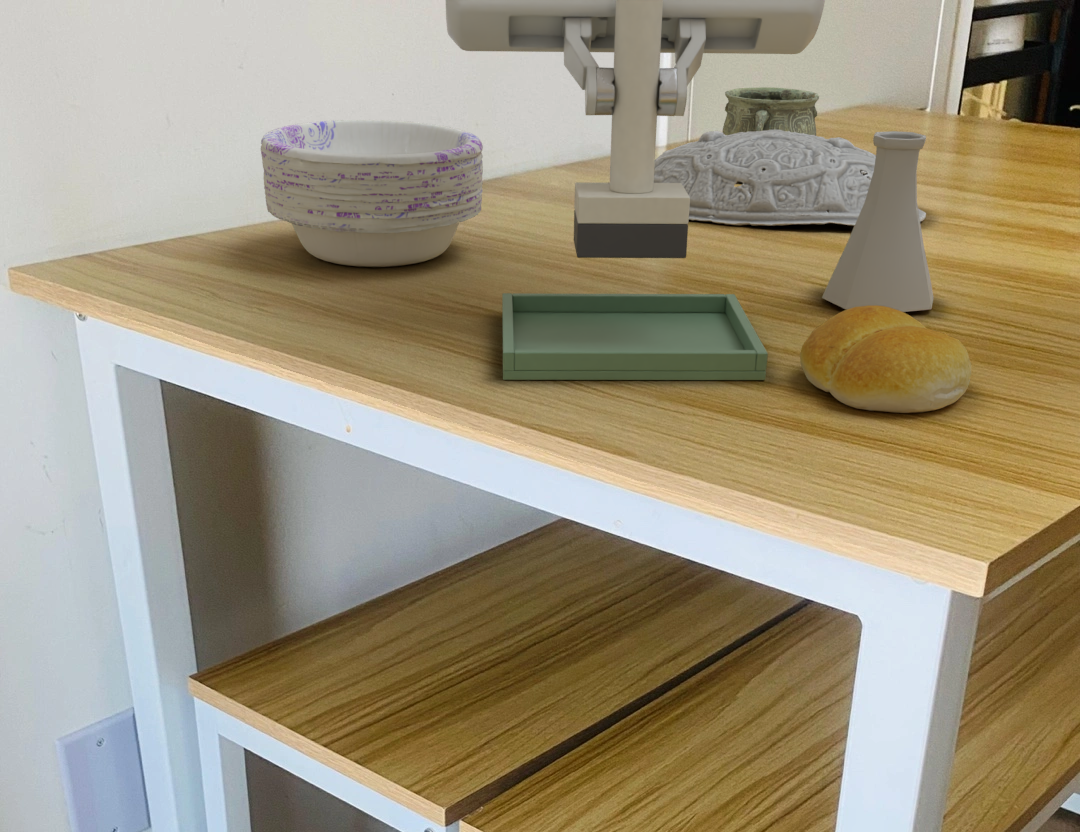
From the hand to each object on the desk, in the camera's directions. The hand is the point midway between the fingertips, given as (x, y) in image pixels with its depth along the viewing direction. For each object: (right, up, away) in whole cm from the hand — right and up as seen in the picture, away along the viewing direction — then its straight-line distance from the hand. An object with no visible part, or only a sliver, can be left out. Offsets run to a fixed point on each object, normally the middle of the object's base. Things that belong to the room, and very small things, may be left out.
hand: (636, 108), depth 72 cm
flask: (+17, -6, +16) cm, 24 cm away
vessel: (+16, +20, +58) cm, 63 cm away
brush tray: (0, -11, +7) cm, 13 cm away
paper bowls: (-17, +1, +26) cm, 31 cm away
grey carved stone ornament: (+14, +10, +41) cm, 44 cm away
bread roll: (+13, -15, +1) cm, 20 cm away
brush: (0, -6, +4) cm, 7 cm away
